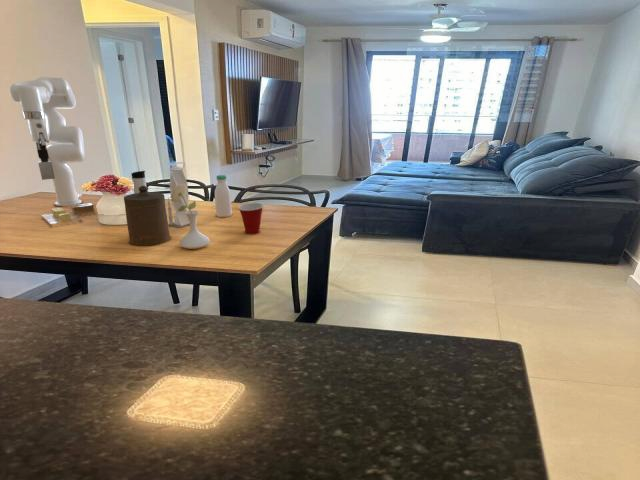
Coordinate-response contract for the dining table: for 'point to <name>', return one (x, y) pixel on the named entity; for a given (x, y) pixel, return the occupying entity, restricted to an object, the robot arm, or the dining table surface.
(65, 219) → the butter slice
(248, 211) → the plastic cup
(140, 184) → the travel mug
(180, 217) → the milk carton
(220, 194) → the milk bottle
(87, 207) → the knife block
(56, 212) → the butter
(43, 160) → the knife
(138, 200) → the wooden container
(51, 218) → the board
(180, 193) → the flower in vase
